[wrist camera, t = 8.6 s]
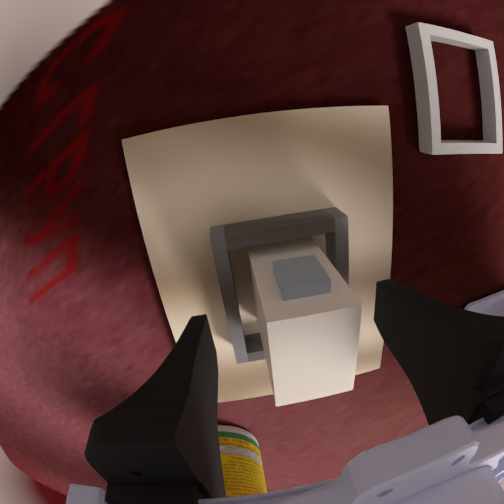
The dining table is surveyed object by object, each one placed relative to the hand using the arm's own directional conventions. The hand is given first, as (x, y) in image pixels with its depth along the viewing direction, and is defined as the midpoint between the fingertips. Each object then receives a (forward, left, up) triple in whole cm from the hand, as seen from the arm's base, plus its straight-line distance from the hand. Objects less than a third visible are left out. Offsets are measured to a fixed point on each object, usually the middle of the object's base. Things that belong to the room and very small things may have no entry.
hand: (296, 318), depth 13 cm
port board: (0, 0, -4) cm, 4 cm away
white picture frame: (+9, -11, -4) cm, 15 cm away
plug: (0, 0, -3) cm, 3 cm away
